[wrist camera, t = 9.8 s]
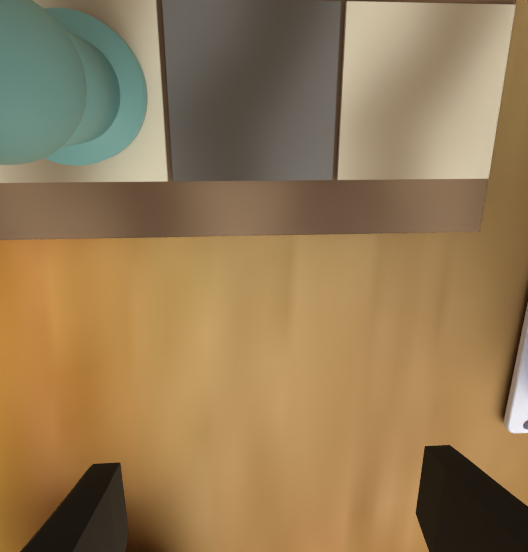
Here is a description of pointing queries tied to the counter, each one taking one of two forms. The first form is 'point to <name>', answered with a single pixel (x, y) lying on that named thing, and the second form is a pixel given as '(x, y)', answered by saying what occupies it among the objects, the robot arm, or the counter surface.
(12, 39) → the pawn
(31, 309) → the counter surface
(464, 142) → the board
